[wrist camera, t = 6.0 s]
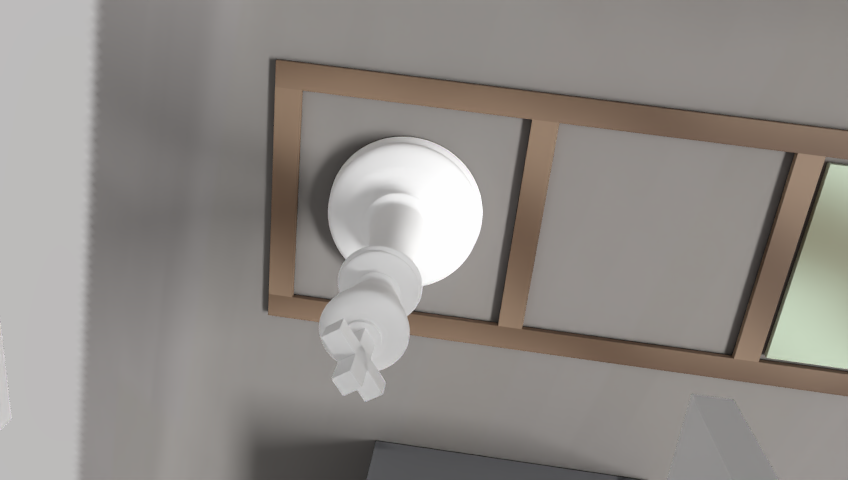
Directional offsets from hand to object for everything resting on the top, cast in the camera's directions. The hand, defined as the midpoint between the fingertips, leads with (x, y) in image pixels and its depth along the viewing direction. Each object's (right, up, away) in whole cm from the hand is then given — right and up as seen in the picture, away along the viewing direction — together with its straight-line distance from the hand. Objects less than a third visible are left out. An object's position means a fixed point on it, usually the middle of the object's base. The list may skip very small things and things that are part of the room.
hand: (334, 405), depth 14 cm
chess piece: (+1, +4, +10) cm, 11 cm away
